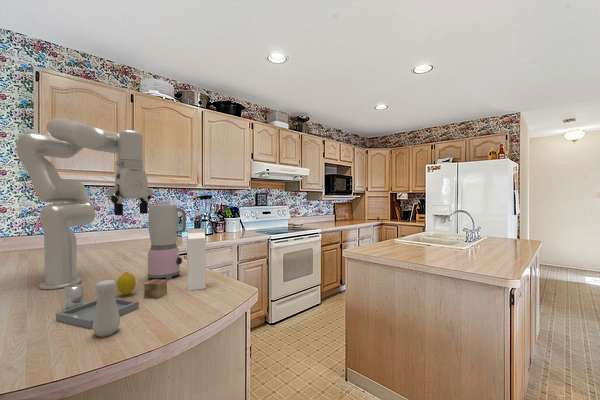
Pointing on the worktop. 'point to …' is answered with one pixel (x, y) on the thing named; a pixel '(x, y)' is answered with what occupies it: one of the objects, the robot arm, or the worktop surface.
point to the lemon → (126, 283)
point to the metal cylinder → (73, 296)
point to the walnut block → (155, 289)
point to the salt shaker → (106, 309)
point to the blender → (164, 240)
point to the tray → (92, 312)
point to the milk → (196, 259)
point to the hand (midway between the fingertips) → (131, 214)
